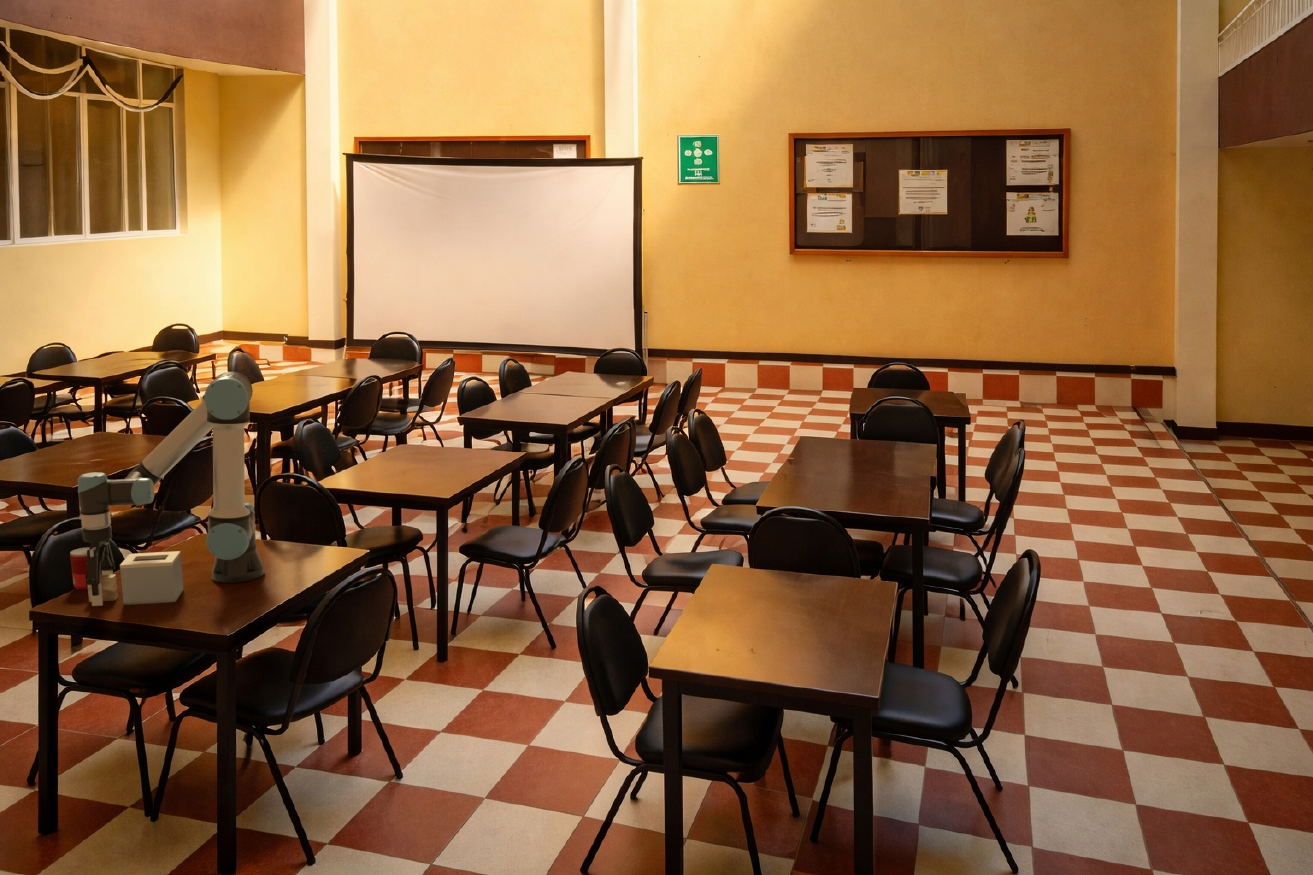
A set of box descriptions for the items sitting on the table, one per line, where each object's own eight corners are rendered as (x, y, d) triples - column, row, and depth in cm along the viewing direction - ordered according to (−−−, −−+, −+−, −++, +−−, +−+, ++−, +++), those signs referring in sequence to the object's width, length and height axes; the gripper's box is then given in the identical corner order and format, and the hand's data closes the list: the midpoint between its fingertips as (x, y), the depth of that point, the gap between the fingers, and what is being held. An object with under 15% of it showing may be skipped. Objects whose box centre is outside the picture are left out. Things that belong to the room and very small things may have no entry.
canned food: (90, 590, 326) (87, 555, 324) (67, 588, 328) (63, 553, 326) (108, 582, 334) (104, 548, 331) (85, 580, 335) (81, 546, 333)
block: (118, 596, 321) (115, 574, 320) (115, 600, 318) (113, 577, 317) (92, 598, 320) (89, 575, 318) (89, 601, 317) (86, 578, 315)
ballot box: (183, 589, 327) (180, 551, 325) (175, 601, 317) (172, 562, 315) (133, 592, 325) (129, 553, 322) (123, 604, 314) (119, 565, 312)
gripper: (94, 516, 325) (101, 586, 329) (69, 538, 302) (77, 613, 307) (121, 515, 327) (127, 584, 331) (98, 537, 304) (106, 611, 308)
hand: (103, 598), depth 319 cm, fingers open, 11 cm apart
